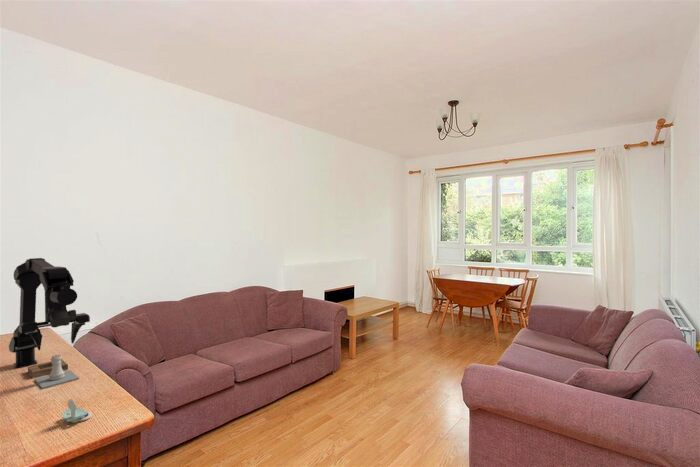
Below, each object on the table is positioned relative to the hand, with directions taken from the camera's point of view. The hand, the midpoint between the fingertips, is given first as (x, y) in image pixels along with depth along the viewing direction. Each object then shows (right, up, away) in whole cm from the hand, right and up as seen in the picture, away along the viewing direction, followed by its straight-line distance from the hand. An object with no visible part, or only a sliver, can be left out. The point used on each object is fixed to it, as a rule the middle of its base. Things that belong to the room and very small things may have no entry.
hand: (56, 346), depth 124 cm
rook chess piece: (0, -12, 0) cm, 12 cm away
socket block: (-11, -12, +9) cm, 18 cm away
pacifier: (+29, -12, -27) cm, 42 cm away
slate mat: (0, -12, 0) cm, 12 cm away
